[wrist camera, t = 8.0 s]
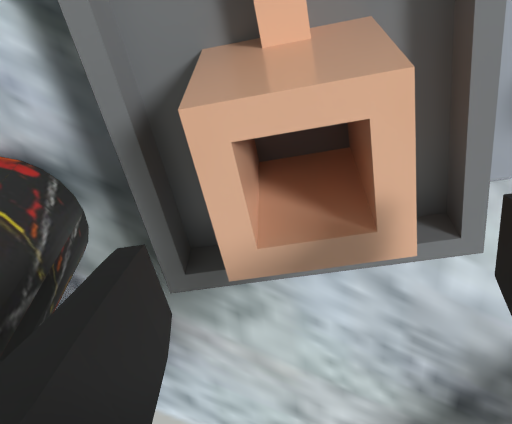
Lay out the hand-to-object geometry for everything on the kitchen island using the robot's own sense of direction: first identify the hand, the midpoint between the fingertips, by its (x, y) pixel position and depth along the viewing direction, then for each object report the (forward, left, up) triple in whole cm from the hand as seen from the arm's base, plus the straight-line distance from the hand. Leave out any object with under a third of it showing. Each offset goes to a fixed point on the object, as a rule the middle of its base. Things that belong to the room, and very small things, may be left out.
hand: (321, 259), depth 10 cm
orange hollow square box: (+2, 0, -7) cm, 8 cm away
